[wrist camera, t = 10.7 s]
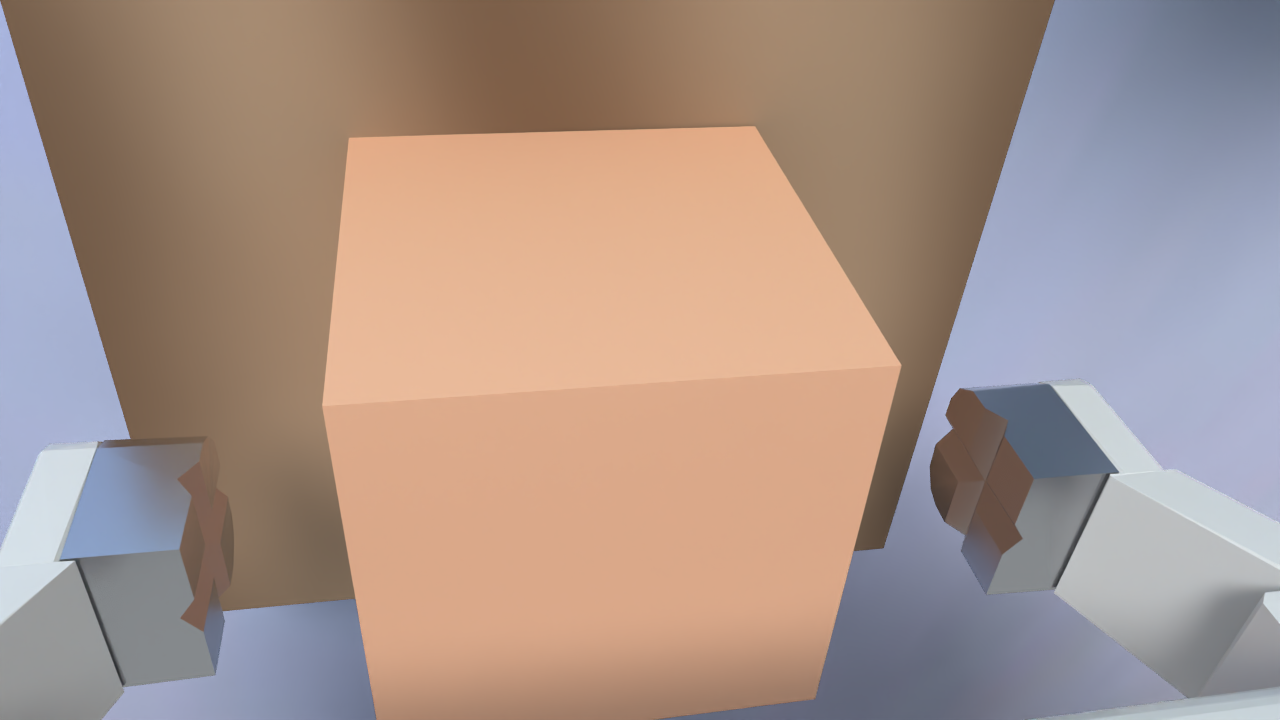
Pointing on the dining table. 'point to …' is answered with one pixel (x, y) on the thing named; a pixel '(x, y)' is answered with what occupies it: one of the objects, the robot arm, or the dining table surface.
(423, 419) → the cube
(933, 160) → the base slab
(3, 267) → the dining table surface
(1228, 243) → the dining table surface
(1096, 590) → the robot arm
